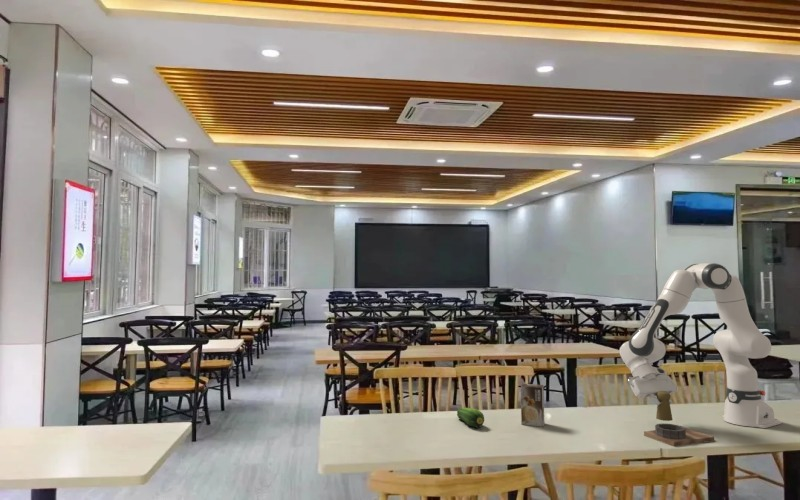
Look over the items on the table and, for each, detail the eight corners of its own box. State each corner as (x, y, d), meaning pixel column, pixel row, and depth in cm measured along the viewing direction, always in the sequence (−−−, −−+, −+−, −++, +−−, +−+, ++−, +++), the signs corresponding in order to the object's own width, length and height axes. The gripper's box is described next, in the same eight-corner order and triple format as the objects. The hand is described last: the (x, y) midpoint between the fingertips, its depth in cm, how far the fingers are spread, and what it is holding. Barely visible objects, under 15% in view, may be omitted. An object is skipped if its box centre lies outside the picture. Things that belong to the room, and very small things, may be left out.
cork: (674, 421, 210) (673, 393, 210) (658, 420, 211) (657, 392, 212) (669, 417, 216) (668, 390, 216) (654, 416, 217) (653, 389, 218)
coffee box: (545, 423, 220) (544, 384, 221) (543, 427, 215) (542, 387, 215) (523, 420, 224) (522, 383, 225) (520, 424, 218) (520, 385, 219)
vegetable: (475, 408, 211) (456, 398, 230) (467, 425, 209) (449, 413, 229) (490, 416, 212) (470, 405, 232) (482, 432, 211) (463, 420, 230)
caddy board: (683, 430, 210) (682, 419, 210) (714, 440, 197) (713, 428, 197) (644, 435, 203) (643, 423, 204) (673, 446, 190) (673, 433, 190)
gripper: (629, 373, 217) (649, 401, 208) (667, 369, 224) (688, 397, 214) (622, 381, 221) (641, 410, 212) (659, 378, 228) (679, 405, 218)
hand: (665, 403), depth 213 cm, fingers closed on cork, 4 cm apart
